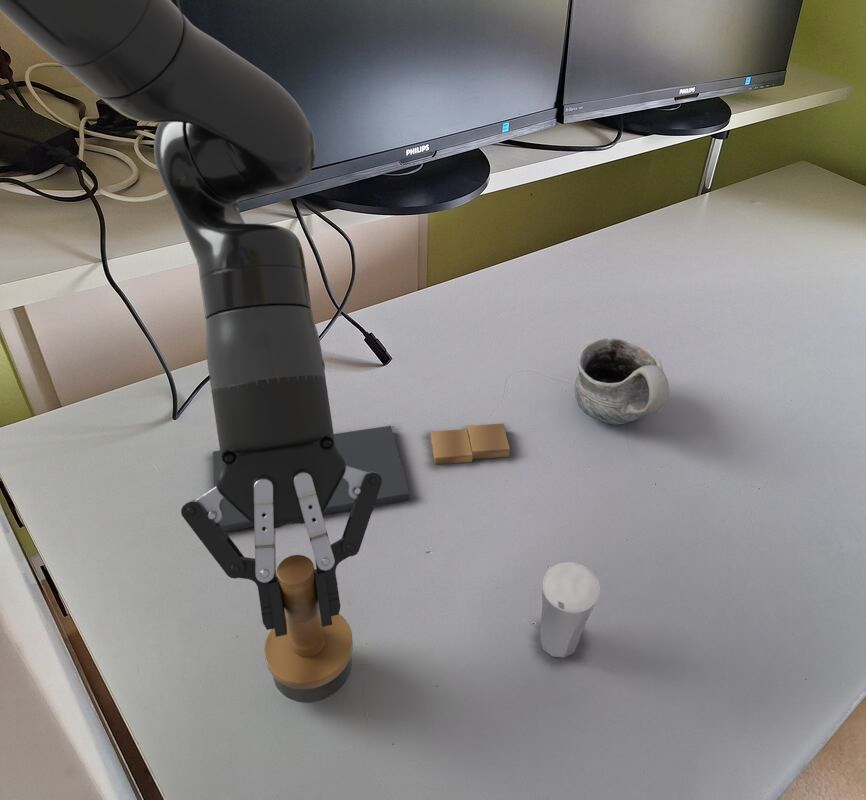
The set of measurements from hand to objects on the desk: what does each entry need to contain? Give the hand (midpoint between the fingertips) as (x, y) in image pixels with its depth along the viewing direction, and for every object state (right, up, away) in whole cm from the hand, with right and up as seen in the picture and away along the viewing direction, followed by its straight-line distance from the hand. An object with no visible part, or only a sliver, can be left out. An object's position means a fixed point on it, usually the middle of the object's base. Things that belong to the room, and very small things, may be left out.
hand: (304, 627), depth 52 cm
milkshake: (+18, -6, +13) cm, 23 cm away
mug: (+26, +14, +36) cm, 47 cm away
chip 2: (+11, +11, +31) cm, 34 cm away
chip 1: (+7, +10, +30) cm, 32 cm away
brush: (-2, -5, +8) cm, 9 cm away
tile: (-7, +8, +24) cm, 27 cm away
